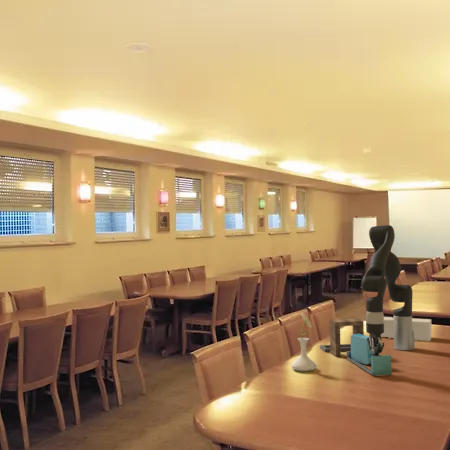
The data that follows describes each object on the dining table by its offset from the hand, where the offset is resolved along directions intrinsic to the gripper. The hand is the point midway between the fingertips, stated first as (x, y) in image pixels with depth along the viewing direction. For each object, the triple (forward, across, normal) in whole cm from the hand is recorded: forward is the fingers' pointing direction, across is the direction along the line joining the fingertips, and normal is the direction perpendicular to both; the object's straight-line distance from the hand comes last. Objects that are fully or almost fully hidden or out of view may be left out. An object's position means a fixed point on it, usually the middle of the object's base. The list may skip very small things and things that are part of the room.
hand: (375, 361), depth 221 cm
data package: (+4, +16, -1) cm, 17 cm away
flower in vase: (+5, +11, +29) cm, 31 cm away
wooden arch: (+5, +34, 0) cm, 34 cm away
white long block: (+6, +67, -46) cm, 82 cm away
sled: (+4, +8, 0) cm, 9 cm away
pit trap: (+5, +45, 0) cm, 45 cm away
